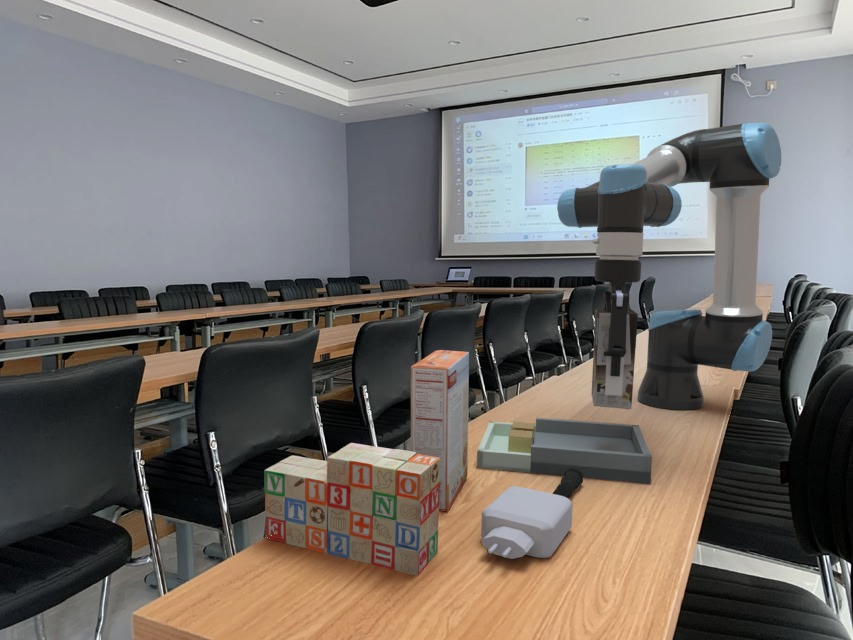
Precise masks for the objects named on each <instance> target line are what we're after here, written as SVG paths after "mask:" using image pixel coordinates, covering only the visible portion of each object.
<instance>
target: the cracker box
mask: <svg viewBox="0 0 853 640" xmlns="http://www.w3.org/2000/svg"><path fill="white" fill-rule="evenodd" d="M469 377H470V352H469V351H458V350H448V349H439V350H438V349H437V350H435V351H433V352H432V353H430V354H429V355H427V356H425V357H424V358H422V359H420V360H419V361H417V362H416V363H414V364H412V365H411V366H410V451H412V452H416V453H417V454H422V455H427V456H433V457H439V458H440V500H439V511H440V512H443V511H444V512H448V511H449V510H450V508H451V506H452V505H453V503H454V501H455V500H456V498H457V496H458V494H459V492H460V491H461V488H462V487H463V485H464V483H465V481H466V480H467V478H468V471H469V470H468V469H469V468H468V466H469V465H468V464H469V463H468V462H469V459H468V457H469V455H468V453H469V388H470V386H469V382H470V381H469V379H470V378H469Z"/></svg>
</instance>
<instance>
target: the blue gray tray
mask: <svg viewBox="0 0 853 640" xmlns="http://www.w3.org/2000/svg"><path fill="white" fill-rule="evenodd" d="M535 425H536V432H535V438H534V444H533V445H531V467H530V473H529V474H537V475H538V474H540V475H548V476H559V477H563V476H564V473H565V472H566V471H567V470H568V469H570V468H575V469H578V470H580V471H581V472H582V474H583V479H591V480H604V481H610V482H611V481H613V482H622V483H634V484H644V485H651V483H652V468H653V467H652V465H653V464H652V463H653V455H652V453H651V451H650V449H649V446H648V444H647V441H646V440H645V437H644V434H643V432H642V430H641V427H640V425H639V424H626V423H625V424H624V423H615V422H614V423H613V422H599V421H587V420H586V421H585V420H573V419H562V418H561V419H560V418H559V419H558V418H547V417H536V418H535Z"/></svg>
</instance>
